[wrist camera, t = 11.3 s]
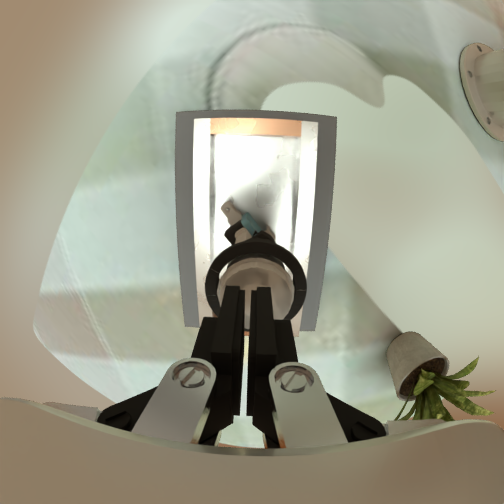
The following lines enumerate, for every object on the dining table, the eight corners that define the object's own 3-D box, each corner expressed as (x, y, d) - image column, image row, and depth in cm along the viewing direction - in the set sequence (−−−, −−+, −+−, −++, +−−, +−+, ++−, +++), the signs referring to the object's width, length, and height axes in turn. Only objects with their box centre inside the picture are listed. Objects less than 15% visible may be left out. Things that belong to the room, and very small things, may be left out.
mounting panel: (332, 118, 20) (336, 116, 19) (312, 324, 27) (314, 331, 26) (180, 114, 21) (176, 112, 19) (187, 319, 27) (184, 326, 26)
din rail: (312, 125, 20) (317, 122, 18) (295, 323, 26) (298, 336, 24) (200, 122, 20) (194, 118, 18) (204, 319, 26) (200, 333, 24)
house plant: (319, 359, 29) (349, 486, 14) (409, 274, 25) (505, 374, 10) (382, 396, 32) (416, 487, 16) (454, 332, 28) (516, 411, 13)
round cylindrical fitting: (201, 220, 22) (161, 269, 13) (253, 181, 21) (250, 201, 12) (250, 280, 24) (245, 357, 14) (301, 246, 23) (329, 308, 13)
